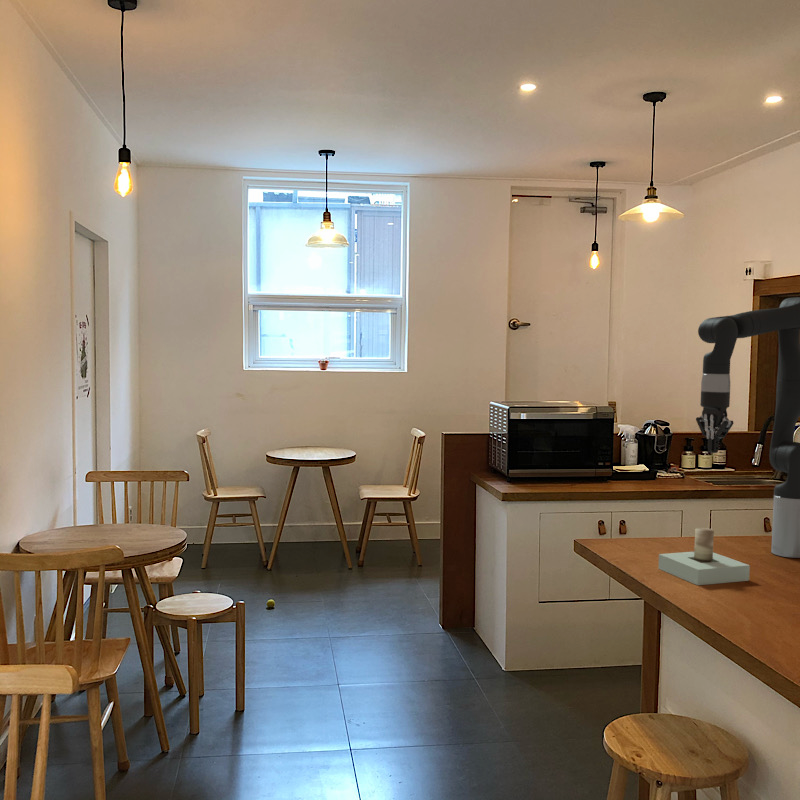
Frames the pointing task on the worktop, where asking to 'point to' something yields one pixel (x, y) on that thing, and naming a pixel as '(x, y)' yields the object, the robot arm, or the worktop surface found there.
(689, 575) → the board
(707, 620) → the worktop surface
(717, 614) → the worktop surface
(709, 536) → the peg
